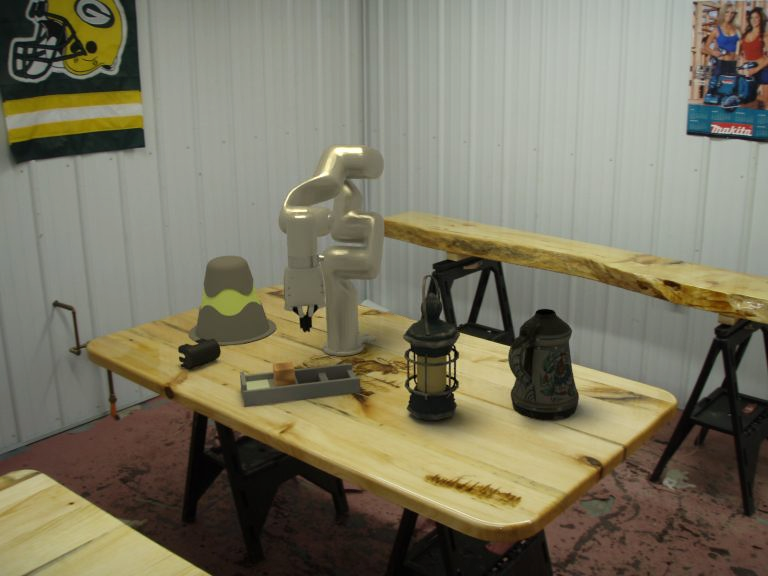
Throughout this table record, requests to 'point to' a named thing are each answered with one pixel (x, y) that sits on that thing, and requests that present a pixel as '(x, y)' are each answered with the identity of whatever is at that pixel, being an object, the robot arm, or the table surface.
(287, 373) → the orange block
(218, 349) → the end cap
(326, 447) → the table surface
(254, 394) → the tray
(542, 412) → the beer stein
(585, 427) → the table surface
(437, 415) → the lantern
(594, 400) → the table surface
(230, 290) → the grey bell cover
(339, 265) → the robot arm
